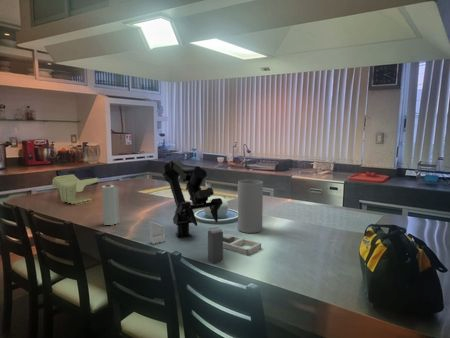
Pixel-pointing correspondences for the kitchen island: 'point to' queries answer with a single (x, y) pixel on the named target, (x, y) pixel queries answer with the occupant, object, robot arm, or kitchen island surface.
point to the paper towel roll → (110, 204)
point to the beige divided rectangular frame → (235, 242)
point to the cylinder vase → (250, 206)
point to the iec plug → (215, 245)
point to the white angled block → (156, 233)
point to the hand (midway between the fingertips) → (207, 223)
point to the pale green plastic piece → (71, 187)
